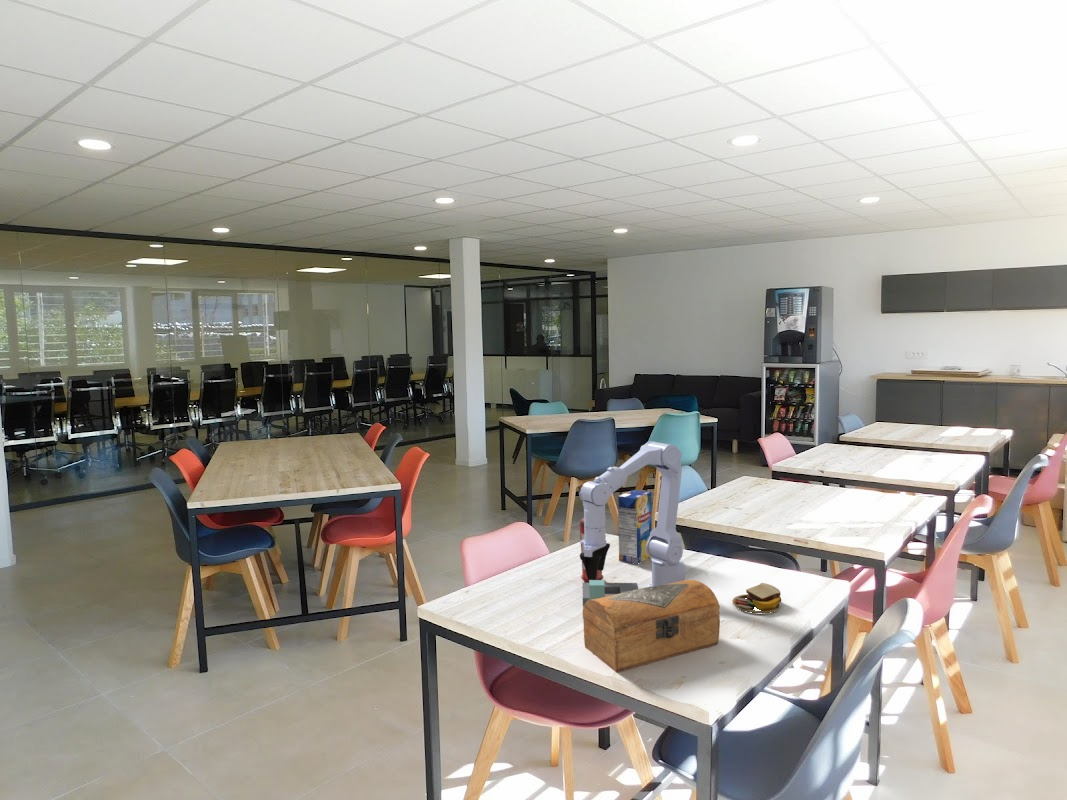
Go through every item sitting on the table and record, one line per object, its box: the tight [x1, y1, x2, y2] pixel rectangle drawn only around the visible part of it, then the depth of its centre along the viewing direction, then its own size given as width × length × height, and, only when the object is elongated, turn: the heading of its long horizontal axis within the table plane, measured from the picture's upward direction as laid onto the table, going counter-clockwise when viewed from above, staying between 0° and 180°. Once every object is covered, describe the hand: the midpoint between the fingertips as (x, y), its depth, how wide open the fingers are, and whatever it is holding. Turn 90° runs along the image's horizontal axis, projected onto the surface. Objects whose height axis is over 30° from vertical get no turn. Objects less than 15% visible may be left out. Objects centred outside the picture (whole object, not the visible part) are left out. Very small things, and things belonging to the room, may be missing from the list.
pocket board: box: [582, 582, 639, 606], centre depth 197 cm, size 16×12×2 cm
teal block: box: [589, 579, 605, 600], centre depth 187 cm, size 4×4×8 cm
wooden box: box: [582, 579, 721, 673], centre depth 166 cm, size 30×16×14 cm, turn 114°
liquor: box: [578, 517, 604, 583], centre depth 210 cm, size 7×7×28 cm
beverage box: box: [617, 489, 653, 565], centre depth 231 cm, size 7×11×22 cm, turn 145°
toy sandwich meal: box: [732, 582, 782, 614], centre depth 189 cm, size 12×14×5 cm
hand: (595, 574), depth 188 cm, fingers open, 7 cm apart
